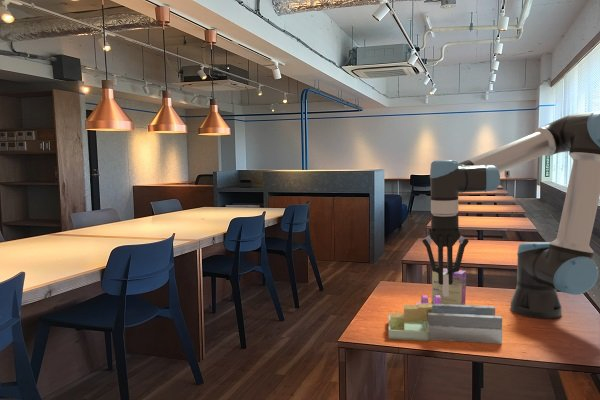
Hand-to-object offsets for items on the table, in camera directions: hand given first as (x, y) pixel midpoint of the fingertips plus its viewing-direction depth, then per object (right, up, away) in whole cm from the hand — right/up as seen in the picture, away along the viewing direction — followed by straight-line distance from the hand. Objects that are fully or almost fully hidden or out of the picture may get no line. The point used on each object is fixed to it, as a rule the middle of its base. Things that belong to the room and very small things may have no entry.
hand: (445, 295), depth 140 cm
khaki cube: (-11, -8, +3) cm, 14 cm away
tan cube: (-9, -8, +2) cm, 12 cm away
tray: (-10, -11, +3) cm, 15 cm away
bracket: (0, -10, +20) cm, 23 cm away
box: (+10, -9, +29) cm, 32 cm away
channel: (+5, -11, 0) cm, 12 cm away
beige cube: (-5, -7, +1) cm, 9 cm away
